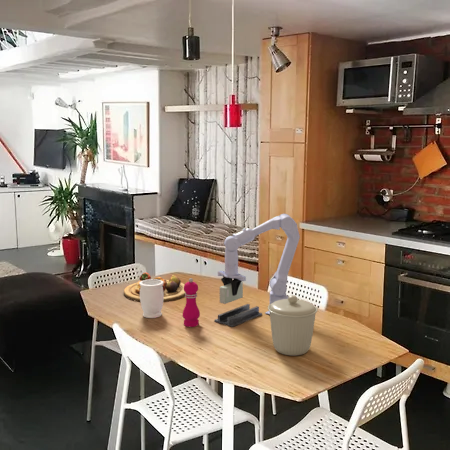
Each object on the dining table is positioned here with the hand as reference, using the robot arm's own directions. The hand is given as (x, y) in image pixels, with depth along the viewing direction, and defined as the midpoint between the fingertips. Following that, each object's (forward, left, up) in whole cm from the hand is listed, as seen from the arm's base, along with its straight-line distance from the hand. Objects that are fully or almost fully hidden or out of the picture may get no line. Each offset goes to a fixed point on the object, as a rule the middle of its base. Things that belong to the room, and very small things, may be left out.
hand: (231, 294), depth 245 cm
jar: (+26, +24, -10) cm, 36 cm away
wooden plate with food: (+50, 0, -10) cm, 51 cm away
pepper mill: (+5, +21, -10) cm, 23 cm away
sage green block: (0, 0, -3) cm, 3 cm away
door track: (-5, +2, -9) cm, 11 cm away
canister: (-42, +16, -10) cm, 46 cm away
